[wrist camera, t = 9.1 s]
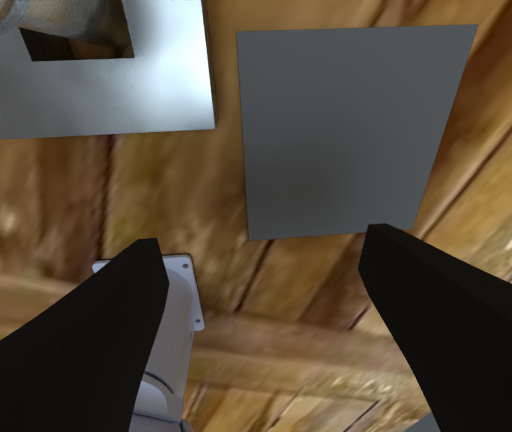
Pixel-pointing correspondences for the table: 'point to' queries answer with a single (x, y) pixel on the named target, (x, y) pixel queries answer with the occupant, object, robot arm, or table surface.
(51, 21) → the pin
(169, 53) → the square hole block
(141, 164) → the table surface
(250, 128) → the mat
